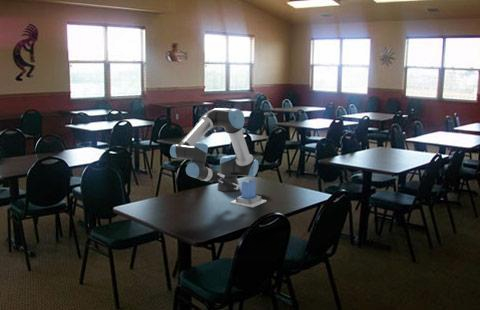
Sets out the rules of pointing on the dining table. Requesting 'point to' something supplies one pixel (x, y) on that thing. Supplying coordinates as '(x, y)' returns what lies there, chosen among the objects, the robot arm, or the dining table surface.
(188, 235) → the dining table surface
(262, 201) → the white square socket base
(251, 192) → the blue drink carton
